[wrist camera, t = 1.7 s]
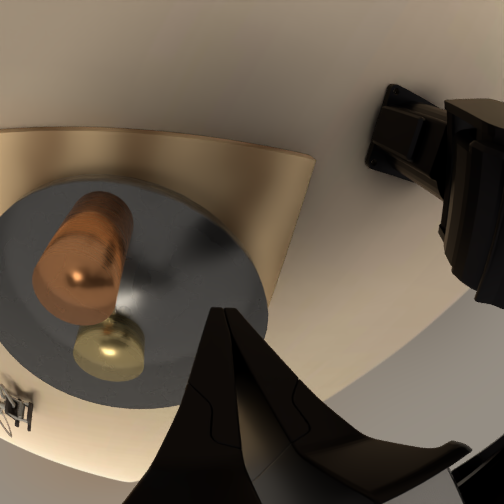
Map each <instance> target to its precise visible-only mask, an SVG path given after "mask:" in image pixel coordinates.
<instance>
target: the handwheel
mask: <svg viewBox="0 0 504 504" xmlns="http://www.w3.org/2000/svg"><path fill="white" fill-rule="evenodd" d="M211 307H222V308H223V309H224V308H226V307H227V308H236V309H237V310H238V311H239V312H240V313H241V314H242V315H243V316H244V318H245V319H246V320H247V321H248V322H249V323H250V324H251V326H252V327H253V328H254V329H255V330H256V331H257V332H258V334H259V335H260V336H261V337H262V338H263V339H264V338H265V334H266V331H267V324H268V306H267V299H266V295H265V292H264V288H263V285H262V282H261V279H260V276H259V273H258V271H257V269H256V267H255V265H254V263H253V260H252V258H251V256H250V254H249V253H248V252H247V250H246V249H245V247H244V246H243V244H242V243H241V242H240V240H239V239H238V238H237V237H236V236H235V234H234V233H233V232H232V231H231V230H230V229H229V228H228V227H227V226H226V225H225V224H224V223H223V222H222V221H221V220H219V219H218V218H217V217H216V216H214V215H213V214H212V213H211V212H209V211H208V210H207V209H206V208H204V207H202V206H201V205H199V204H197V203H196V202H194V201H192V200H191V199H189V198H187V197H186V196H184V195H182V194H180V193H177V192H175V191H173V190H171V189H168V188H166V187H164V186H161V185H159V184H155V183H152V182H148V181H145V180H141V179H137V178H134V177H127V176H120V175H112V174H82V175H76V176H70V177H64V178H60V179H57V180H54V181H51V182H48V183H45V184H43V185H40V186H38V187H37V188H35V189H33V190H31V191H30V192H28V193H26V194H24V195H23V196H22V197H21V198H19V199H18V200H17V201H16V202H15V203H14V204H12V205H11V206H10V207H9V208H8V209H7V210H6V211H5V212H4V213H3V214H2V215H1V216H0V342H1V343H2V344H3V346H4V347H5V348H6V349H7V351H8V352H9V353H10V354H11V355H12V356H13V357H14V358H15V359H16V360H17V361H18V362H19V363H20V364H21V365H22V366H23V367H25V368H26V369H27V370H28V371H30V372H31V373H32V374H34V375H35V376H36V377H38V378H39V379H41V380H42V381H44V382H46V383H47V384H49V385H51V386H53V387H54V388H56V389H58V390H60V391H63V392H65V393H67V394H69V395H72V396H74V397H77V398H80V399H83V400H86V401H89V402H93V403H96V404H101V405H106V406H111V407H119V408H129V409H155V408H164V407H171V406H176V405H180V404H181V401H182V398H183V395H184V392H185V388H186V385H187V382H188V379H189V375H190V372H191V369H192V365H193V362H194V359H195V355H196V352H197V349H198V346H199V342H200V339H201V336H202V333H203V329H204V326H205V323H206V320H207V317H208V313H209V310H210V308H211Z"/></svg>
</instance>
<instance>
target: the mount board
mask: <svg viewBox="0 0 504 504" xmlns="http://www.w3.org/2000/svg"><path fill="white" fill-rule="evenodd" d="M315 162H316V160H315V159H314V158H312V157H311V156H310V155H307V154H302V153H298V152H293V151H289V150H284V149H279V148H274V147H268V146H263V145H258V144H252V143H246V142H240V141H234V140H228V139H221V138H214V137H207V136H199V135H191V134H183V133H173V132H163V131H152V130H140V129H125V128H104V127H33V128H14V129H0V216H1V215H2V214H3V213H4V212H5V211H6V210H7V209H8V208H9V207H10V206H11V205H12V204H14V203H15V202H16V201H17V200H18V199H19V198H21V197H22V196H23V195H24V194H26V193H28V192H30V191H31V190H33V189H35V188H37V187H38V186H40V185H43V184H45V183H48V182H51V181H54V180H57V179H60V178H64V177H70V176H76V175H82V174H112V175H120V176H127V177H134V178H137V179H141V180H145V181H148V182H152V183H155V184H159V185H161V186H164V187H166V188H168V189H171V190H173V191H175V192H177V193H180V194H182V195H184V196H186V197H187V198H189V199H191V200H192V201H194V202H196V203H197V204H199V205H201V206H202V207H204V208H206V209H207V210H208V211H209V212H211V213H212V214H213V215H214V216H216V217H217V218H218V219H219V220H221V221H222V222H223V223H224V224H225V225H226V226H227V227H228V228H229V229H230V230H231V231H232V232H233V233H234V234H235V236H236V237H237V238H238V239H239V240H240V242H241V243H242V244H243V246H244V247H245V249H246V250H247V252H248V253H249V254H250V256H251V258H252V260H253V263H254V265H255V267H256V269H257V271H258V273H259V276H260V279H261V282H262V285H263V288H264V292H265V295H266V299H267V306H269V303H270V301H271V298H272V295H273V292H274V289H275V286H276V283H277V280H278V277H279V274H280V271H281V268H282V265H283V262H284V259H285V256H286V253H287V250H288V247H289V244H290V241H291V238H292V235H293V232H294V229H295V226H296V223H297V220H298V217H299V213H300V210H301V207H302V204H303V201H304V198H305V194H306V191H307V188H308V185H309V182H310V178H311V175H312V172H313V168H314V165H315Z"/></svg>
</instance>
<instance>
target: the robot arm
mask: <svg viewBox="0 0 504 504" xmlns="http://www.w3.org/2000/svg"><path fill="white" fill-rule="evenodd" d="M394 89H396V92H395V94H394ZM444 101H445V110H443V109H440V108H438V107H437V106H435V105H433V104H432V103H430V102H428V101H427V100H425V99H423V98H421V97H420V96H418V95H416V94H414V93H412V92H411V91H409V90H407V89H405V88H403V87H401V86H399V85H396V84H390V85H389V86H388V89H387V92H386V96H385V99H384V103H383V106H382V108H381V111H380V115H379V118H378V121H377V125H376V128H375V131H374V134H373V137H372V142H371V145H370V148H369V151H368V154H367V157H366V161H365V163H366V165H367V166H368V167H369V168H371V169H373V170H376V171H380V172H383V173H386V174H390V175H393V176H396V177H399V178H402V179H405V180H408V181H411V182H414V183H417V184H418V185H420V186H421V187H423V188H424V189H426V190H427V191H429V192H430V193H432V194H433V195H435V196H436V197H438V198H439V199H441V200H442V201H443V211H442V219H441V224H440V225H439V231H438V233H439V235H440V237H441V238H442V240H443V242H444V251H445V255H446V257H447V259H448V261H449V263H450V265H451V266H452V269H451V271H452V273H453V274H454V275H455V276H456V277H457V278H458V279H459V280H460V281H461V282H462V283H464V284H465V285H467V286H468V287H470V288H471V289H473V290H476V291H477V292H476V295H475V298H474V299H475V301H477V302H481V303H487V304H492V305H494V306H497V307H499V308H502V309H504V102H500V101H496V100H493V99H454V100H444ZM372 160H374V163H373V164H371V162H372ZM471 451H472V449H471V448H470V447H469V446H467V445H466V444H463V443H461V442H456V441H450V442H448V443H446V444H444V445H443V446H440V447H437V448H420V447H414V446H408V445H403V444H397V443H392V442H387V441H382V440H377V439H374V438H371V437H368V436H366V435H364V434H362V433H360V432H359V431H358V430H356V429H355V428H354V427H352V426H351V425H350V424H349V423H347V422H346V421H345V420H344V419H342V418H341V417H340V416H339V415H337V414H336V413H335V412H334V411H333V410H332V409H330V408H329V407H328V406H327V405H326V404H325V403H323V402H322V401H321V400H320V399H319V398H318V397H317V396H316V395H315V394H314V393H313V392H312V391H311V390H310V389H309V388H308V387H307V386H306V385H305V384H304V383H303V382H302V381H301V380H300V379H299V380H298V377H297V376H296V375H295V373H294V372H293V371H292V370H291V369H290V368H289V367H288V366H287V365H286V364H285V363H284V361H283V360H282V359H281V358H280V357H279V356H278V355H277V354H276V353H275V352H274V350H273V349H272V348H271V347H270V346H269V345H268V344H267V343H266V341H265V340H264V339H263V338H262V337H261V336H260V335H259V334H258V332H257V331H256V330H255V329H254V328H253V327H252V326H251V324H250V323H249V322H248V321H247V320H246V319H245V318H244V316H243V315H242V314H241V313H240V312H239V311H238V310H237V309H236V308H227V307H226V308H224V309H223V308H222V307H211V308H210V310H209V313H208V317H207V320H206V323H205V326H204V329H203V333H202V336H201V339H200V342H199V346H198V349H197V352H196V355H195V359H194V362H193V365H192V369H191V372H190V375H189V379H188V382H187V385H186V388H185V392H184V395H183V398H182V401H181V404H180V407H179V409H178V411H177V414H176V416H175V418H174V420H173V423H172V425H171V427H170V429H169V431H168V433H167V435H166V437H165V439H164V441H163V443H162V445H161V447H160V449H159V451H158V453H157V455H156V457H155V459H154V461H153V462H152V464H151V466H150V467H149V469H148V470H147V472H146V473H145V474H144V476H143V477H142V478H141V480H140V481H139V482H138V484H137V485H136V486H135V488H134V489H133V490H132V492H131V493H130V494H129V496H128V497H127V498H126V499H125V501H124V502H123V503H122V504H504V434H503V435H502V436H501V437H500V438H498V439H497V440H496V441H494V442H493V443H492V444H490V445H489V446H488V447H486V448H485V449H484V450H482V451H481V452H479V453H478V454H477V455H475V456H473V457H472V458H470V459H469V460H467V461H466V462H464V463H463V464H461V465H460V466H458V467H457V468H455V469H454V470H452V471H451V470H450V468H449V467H450V466H451V465H453V464H454V463H456V462H457V461H459V460H460V459H462V458H463V457H464V456H465V455H467V454H469V453H470V452H471Z"/></svg>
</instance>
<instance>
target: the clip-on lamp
mask: <svg viewBox="0 0 504 504" xmlns="http://www.w3.org/2000/svg"><path fill="white" fill-rule="evenodd" d="M1 388H2V389H1ZM2 390H3V391H4V393H5V394H6V395H5V396H4V395H3V393H2ZM0 395H1V397H2V398H3V399H5V401H4V402H1V401H0V414H2V415H3V416H4V414H3V413H2V409H5V413H6V414H7V415H9V416H10V417H12V418H13V419H14V420H15V426H16V427H19V421H24V422H26V423H28V431H31V420H32V411H33V404H32V403H30V402H29V403H26V402H23V401H21V400H20V399H18V400H17V399H15V398H14V397H12V396H11V395H9V393H8V392H7V390H6V389H5V387H4V386H3V385H2V384H0ZM25 406H27V407H28V412H27V420H26V419H23V418H24V409H25ZM4 418H5V416H4ZM5 420H6V418H5ZM6 422H7V420H6ZM0 424H1V425H2V427H3V428H4V429H5V431H6V432H7V433H8V435H9V436H10V437H12V433H11V430H10V427H9V424H8V422H7V424H8V427H9V430H10V433H9V432H8V431H7V430H6V428H5V427H4V425H3V424H2V422H1V421H0Z"/></svg>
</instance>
